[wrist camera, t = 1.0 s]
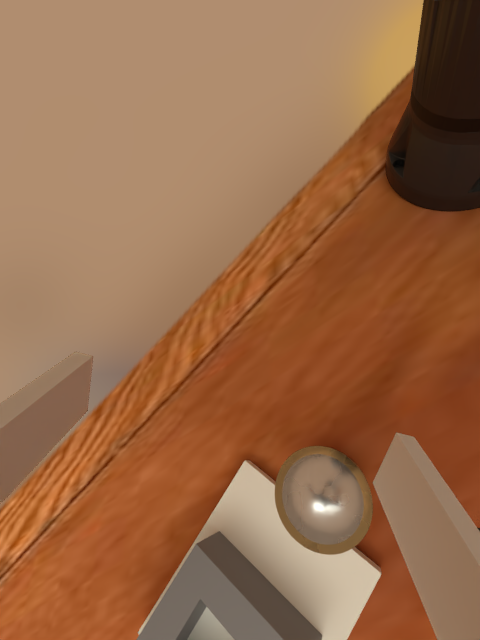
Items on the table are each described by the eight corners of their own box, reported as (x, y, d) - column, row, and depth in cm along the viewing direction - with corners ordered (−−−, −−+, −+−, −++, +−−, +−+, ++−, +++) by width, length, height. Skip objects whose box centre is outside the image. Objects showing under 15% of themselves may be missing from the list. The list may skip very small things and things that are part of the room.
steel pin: (329, 439, 31) (304, 427, 18) (376, 471, 29) (391, 487, 15) (303, 482, 31) (257, 506, 17) (350, 519, 29) (340, 580, 15)
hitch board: (249, 460, 33) (226, 461, 28) (380, 567, 27) (386, 598, 21) (147, 625, 31) (98, 663, 25) (263, 789, 24) (234, 892, 18)
